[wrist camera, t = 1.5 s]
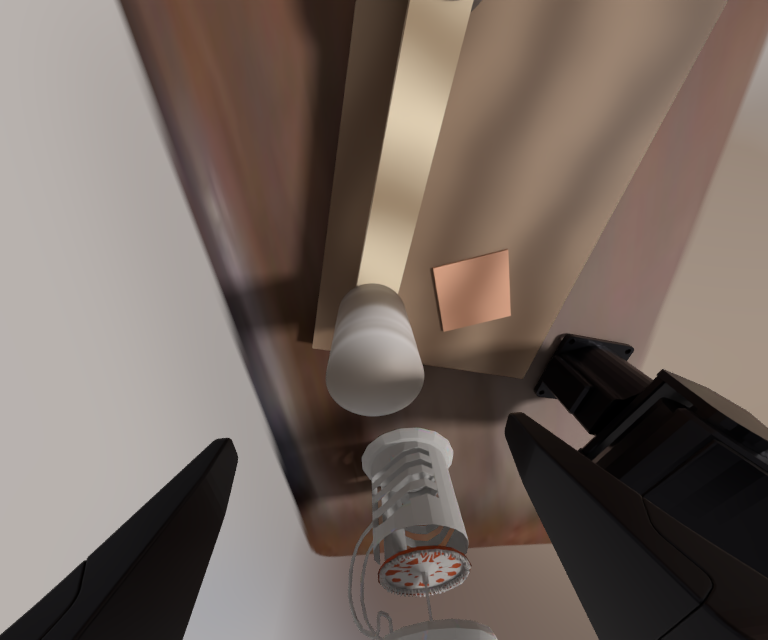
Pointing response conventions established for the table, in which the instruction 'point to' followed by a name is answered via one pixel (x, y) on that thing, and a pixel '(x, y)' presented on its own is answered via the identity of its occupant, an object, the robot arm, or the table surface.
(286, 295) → the table surface
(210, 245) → the table surface
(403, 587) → the french press
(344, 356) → the grey-ended beige bar
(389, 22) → the board
